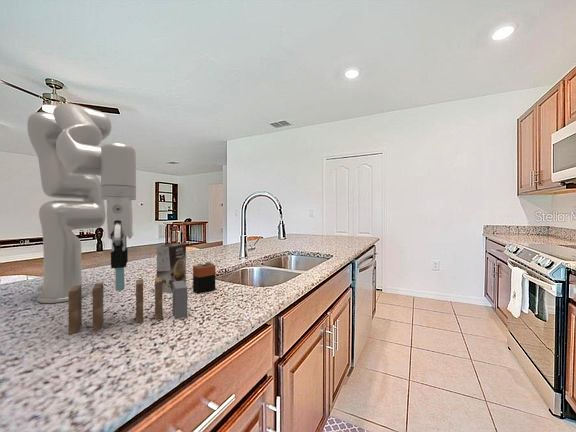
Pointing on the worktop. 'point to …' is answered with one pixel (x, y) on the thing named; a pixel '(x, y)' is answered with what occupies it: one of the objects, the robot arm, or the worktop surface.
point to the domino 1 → (75, 309)
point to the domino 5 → (158, 299)
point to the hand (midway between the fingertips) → (119, 264)
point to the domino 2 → (97, 306)
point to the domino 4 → (139, 301)
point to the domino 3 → (119, 278)
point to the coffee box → (171, 264)
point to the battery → (203, 277)
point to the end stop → (179, 299)
